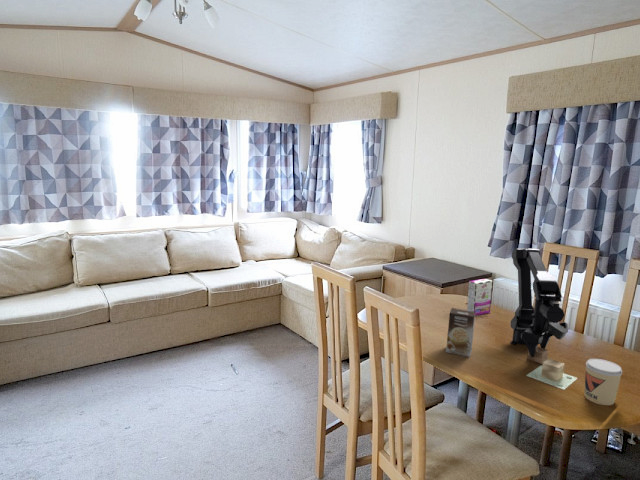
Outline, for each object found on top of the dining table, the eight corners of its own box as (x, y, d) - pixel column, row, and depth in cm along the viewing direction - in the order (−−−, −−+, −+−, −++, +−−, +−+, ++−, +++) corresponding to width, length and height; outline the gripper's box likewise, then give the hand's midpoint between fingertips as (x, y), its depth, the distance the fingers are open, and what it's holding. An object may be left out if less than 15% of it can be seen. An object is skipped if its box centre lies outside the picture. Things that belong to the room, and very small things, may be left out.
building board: (525, 378, 148) (526, 374, 148) (540, 367, 156) (541, 364, 156) (563, 392, 140) (564, 388, 139) (577, 380, 148) (577, 377, 147)
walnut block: (526, 361, 161) (528, 348, 160) (532, 357, 165) (534, 345, 164) (540, 366, 158) (542, 353, 157) (546, 362, 161) (548, 349, 160)
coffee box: (445, 352, 167) (448, 312, 164) (447, 346, 173) (451, 307, 170) (470, 357, 163) (474, 316, 161) (472, 351, 169) (475, 311, 166)
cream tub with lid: (574, 393, 139) (579, 358, 137) (602, 393, 140) (607, 357, 138) (595, 410, 130) (600, 372, 128) (624, 409, 131) (630, 372, 129)
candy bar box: (482, 310, 217) (485, 278, 214) (490, 313, 213) (493, 280, 210) (465, 313, 212) (468, 280, 209) (473, 316, 207) (476, 283, 205)
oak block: (541, 376, 148) (542, 362, 147) (547, 371, 151) (548, 358, 150) (556, 381, 144) (558, 367, 143) (562, 377, 148) (564, 363, 147)
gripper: (555, 325, 146) (550, 368, 149) (576, 313, 158) (570, 353, 161) (522, 316, 154) (517, 357, 157) (544, 305, 166) (539, 344, 169)
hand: (537, 353), depth 161 cm, fingers open, 9 cm apart
